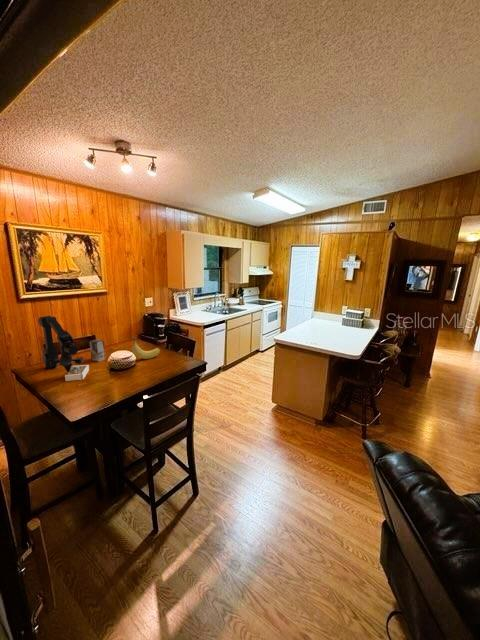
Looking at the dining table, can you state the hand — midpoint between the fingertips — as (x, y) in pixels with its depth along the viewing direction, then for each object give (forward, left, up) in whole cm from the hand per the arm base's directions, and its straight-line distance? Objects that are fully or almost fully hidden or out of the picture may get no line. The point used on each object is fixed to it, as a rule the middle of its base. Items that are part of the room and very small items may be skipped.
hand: (68, 372), depth 186 cm
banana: (+51, +23, -3) cm, 56 cm away
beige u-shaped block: (+5, 0, -3) cm, 6 cm away
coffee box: (+13, +29, -3) cm, 32 cm away
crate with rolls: (+5, 0, -3) cm, 5 cm away
